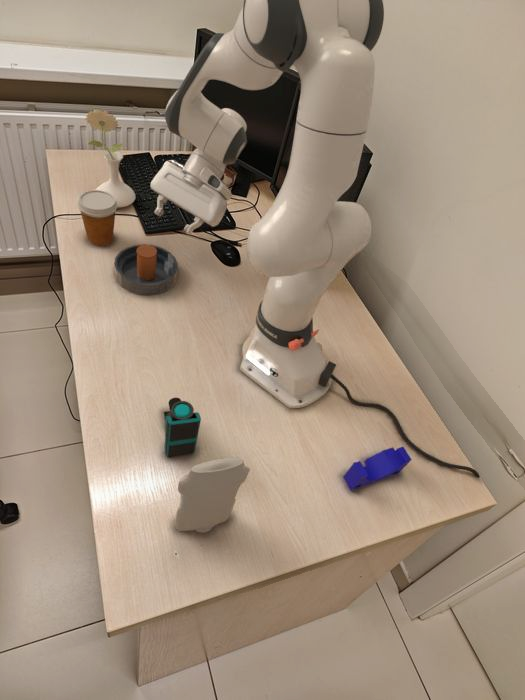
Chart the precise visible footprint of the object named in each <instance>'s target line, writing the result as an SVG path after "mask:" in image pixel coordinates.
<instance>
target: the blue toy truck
mask: <svg viewBox="0 0 525 700" xmlns="http://www.w3.org/2000/svg"><path fill="white" fill-rule="evenodd" d="M412 460H413V459H412V458H411V456H410V454H409V453H408V451H407V450H406V449H405V446H400V447H397V448H396V449H395V447H394V446H392V447H390V448H387V449H384V450H381V451H380V452H378V453H376V454H374V455H372V456H370V457H366V459H365V460H364V461H363V462H364V464H365V466H364V465H363V463H362V462H361V460H359V461H356V462H352V465H351V466H350V467H349V468H348V470H347V471H346V473H344V475H343V479H344V482H345V483H346V485H347V486H348V488H349V490H350V491H354V490H356V489H359V488H361V487H365V486H368V485H370V484H372V483H373V484H374V483H377V482H378V481H381V480H384V479H387V478H389V477H393V476H395V475H397V474H400V473H401V471H402V470H404V468H405V467H407V465H409V463H410V462H411V461H412Z"/></svg>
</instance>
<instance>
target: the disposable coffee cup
mask: <svg viewBox="0 0 525 700" xmlns="http://www.w3.org/2000/svg"><path fill="white" fill-rule="evenodd" d="M76 206H77V208H78V209H79V211H80V214H81V219H82V222H83V227H84V230H85V234H86V238H87V240H88V242H89V243H90V244H92V245H95V246H106V245H109V244H110V243H112V241H113V239H114V230H115V221H116V212H117V210H118V208H117V206H118V205H117V202H116V200H115V198H114V196H113V195H111V194H110V193H108V192H105V191H101V190H96V189H90V190H86V191H83V192H82V193H80V194H79V196H78V199H77V202H76Z"/></svg>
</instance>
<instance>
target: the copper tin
mask: <svg viewBox="0 0 525 700" xmlns="http://www.w3.org/2000/svg"><path fill="white" fill-rule="evenodd" d="M140 245H141V244H140ZM151 245H152V244H147V245H141V246H139V247H138V248H137V275H138V277H139V278H140V279H142V280H152V279H154V278H155V276H156V255H157V250H156V248H155V247H153V246H151Z"/></svg>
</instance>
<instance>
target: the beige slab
mask: <svg viewBox="0 0 525 700" xmlns="http://www.w3.org/2000/svg"><path fill="white" fill-rule="evenodd" d="M249 472H250V467H249V466H247V465H245V460H244V459H243V458H240V457H224V458H217V459H212V460H207V461H204V462H201V463H199V464H196V465H194V466H192V467H191V469H190V470H189V472H188V473H187V474H185V475H184V476H181V478H179V481H178V483H177V484H178V485H177V491H178V492H179V494H180V501H179V506H178V507H177V510H176V515H175V523H174V528H175V530H177V531H180V532H186V531H187V532H188V531H196V532H197V533H201V534H202V533H203V534H204V533H207V532H209V531H210V530H212V529H213V527H215V526H217V525H220V524H222V523H224V522H227V521H228V520H229V518H230V517H231V515H232V511H233V509H234V507H235V504H236V500H237V499H236V497H237V494H238V491H239V489H240V487H241V486H242V484H243V483H245V482H246V480H247V477H248V475H249Z"/></svg>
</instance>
